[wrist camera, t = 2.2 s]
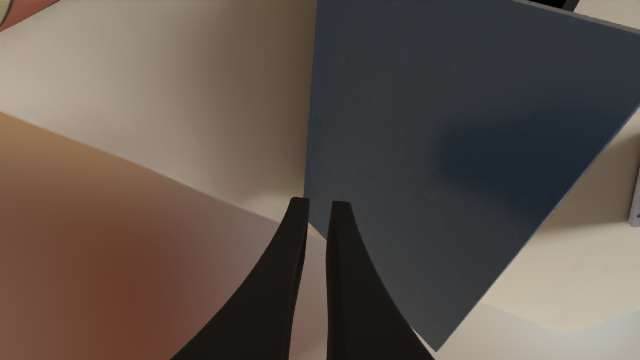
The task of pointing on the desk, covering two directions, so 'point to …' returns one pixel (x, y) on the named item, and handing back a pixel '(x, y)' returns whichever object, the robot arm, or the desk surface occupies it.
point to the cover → (457, 134)
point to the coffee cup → (20, 10)
